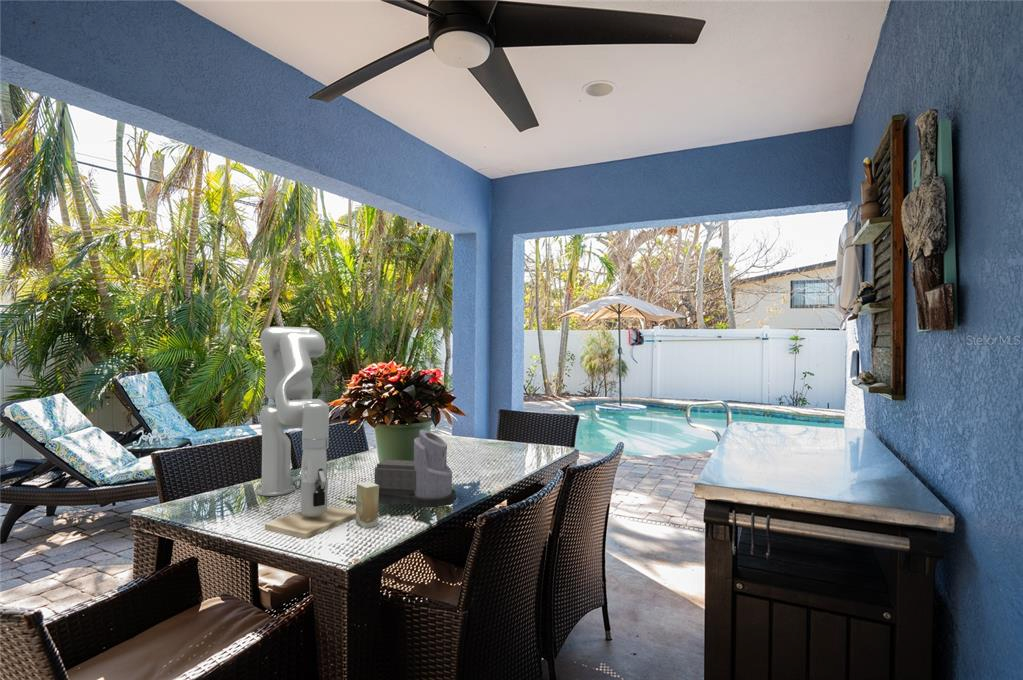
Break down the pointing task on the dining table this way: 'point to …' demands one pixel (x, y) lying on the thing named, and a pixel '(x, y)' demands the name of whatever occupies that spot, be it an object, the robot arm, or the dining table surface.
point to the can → (311, 499)
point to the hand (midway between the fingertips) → (314, 501)
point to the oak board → (311, 522)
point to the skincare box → (367, 504)
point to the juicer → (418, 475)
